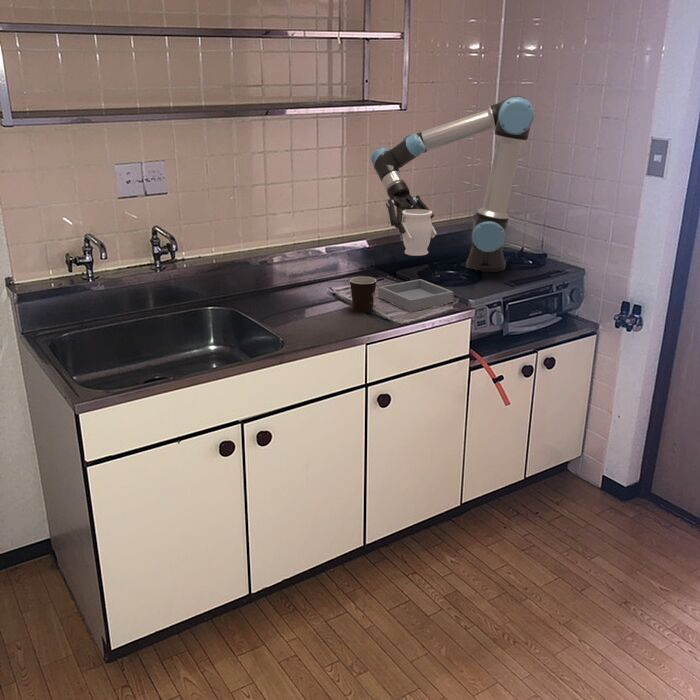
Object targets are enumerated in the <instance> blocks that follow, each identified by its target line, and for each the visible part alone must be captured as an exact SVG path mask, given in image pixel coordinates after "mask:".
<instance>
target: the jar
mask: <svg viewBox="0 0 700 700" xmlns="http://www.w3.org/2000/svg"><path fill="white" fill-rule="evenodd" d="M432 213H433V211H432V210H431V209H429V210H423V209H410V210H406V209H405V210H403V212H402V223H405V225H406V227H407V229H408V231H409V233H410V235H411V237H412V238H411V240H410V241H409V242H406V240H405V238H404V236H403V234H401V235H402V242H403V246H404V247H405V250H404V254H405V255H408V256H411V257H413V256H416V257H418V256H419V257H420V256H426V255H428V254H429V250H428V248H429V246H430V242H431V239H432V238H431V233H432V223H433V221H432V219H431V215H432Z"/></svg>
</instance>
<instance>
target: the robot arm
mask: <svg viewBox="0 0 700 700" xmlns="http://www.w3.org/2000/svg"><path fill="white" fill-rule="evenodd" d="M534 118H535V110H534V107H533V104H532V103H531V102H530V101H529V100H528V99H526V98H525V97H523V96H521V95H513V96H509V97H507V98H505V99H503V100H501V101H499V102H497V103H495V104H492V105H489V106H488V108H487V109H486V110H482V111H479V112H477V113H473V114H470V115H468V116H465V117H462V118H459V119H457V120H453V121H451V122H447V123H444V124H441V125H438V126H435V127H431V128H429V129H426V130H423V131H421V132H418V133H417V132H416V133H413V134H409V135H405V137H404V138H403V139H402V140H401V142H399V143H398V144H396V145H395V146H393V147H392V148H391V149H388V148H387V147H381V148H378V149H376V150H375V151H374V152H372V154H371V156H370V161H371V164H372V166H373V169H374V170H375V171H376V174H377V176H378V178H379V180H380V182H381V183H382V185H383V188H384V189H385V191H386V193H387V196H388V198H389V199H388V200H387V201H386V202H385V206H386V208H387V211H388V217H389V222H390V226H391V227H395V229H398V231H399V233H400V234H401V235H402V234H403V235H402V237H403V236H404V238H405V240H406V242H409V241H410V240H411V238H412V237H411V235H410V233H409V231H408V229H407V227H406V225H405V223H402V221H403V215H402V212H403V211H405V210H410V209H423V210H430V209H429V207H428V206H427V205H426V204H425V203H424V202H423V201H422V198H421V196H420V195H416V196H414V197H413V196H412V195H411V193H410V188H409V186H408V184H407V183H406V182H405V181H406V180H405V179H404V177H403V175H402V174H401V171H400V169H401V168H403V167H404V166H406V165H408V164H409V163H410V162H412V161H413V160H415V159H416V158H418V157H420V156H421V155H422V154H424V153H427V152H430V151H433V150H436V149H439V148H443V147H446V146H448V145H452V144H454V143H458V142H461V141H465V140H466V139H470V138H475V137H477V136H480V135H483V134H486V133H489V132H494V137H495V138H496V139H497V140H496V146H495V150H494V156H493V158H492V163H491V167H490V172H489V176H488V181H487V186H486V190H485V195H484V200H483V202H482V203H483V204H482V206H481V207H480V208H476V209H474V211H473V216H472V217H473V222H472V223H473V224H472V233H471V248H470V251H469V255H468V258H466V263H465V267H466V269H468V268H470V269H475V270H481V271H482V272H481V273H498V272H502V271H504V270H505V269H506V260H505V256H504V251H503V245H504V243H505V240H506V233H507V232H506V230H507V227H508V222H509V218H510V216H509V214H508V213H507V209H508V204H509V201H510V195H511V191H512V188H513V182H514V179H515V174H516V170H517V167H518V166H517V165H518V163H519V157H520V154H521V150H522V146H523V144H524V143H526V142H527V141H528V139H529V135H530V129H531V127H532V124H533V123H534V120H535V119H534ZM395 207H396V209H395ZM434 217H435V214H434V213H433V212H432V215H431V220H432V219H433V218H434ZM437 234H438V233H437V231H436V230H435V225H434V223H433V222H432V233H431V238H430V239H434V238H435V236H436V235H437ZM470 269H469V270H470Z"/></svg>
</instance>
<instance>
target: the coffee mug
mask: <svg viewBox="0 0 700 700" xmlns="http://www.w3.org/2000/svg"><path fill="white" fill-rule="evenodd" d="M349 284H350V294H351V303H352V310H353V311H354V312H355V313H360V314H361V313H362V314H364V313H365V314H366V313H371V312H373V309H374V302H375V295H376V287H377V279H376V278H375V277H372V276H356V277H352V278H350V279H349Z"/></svg>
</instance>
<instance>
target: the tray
mask: <svg viewBox="0 0 700 700" xmlns="http://www.w3.org/2000/svg"><path fill="white" fill-rule="evenodd" d="M378 297H379V298H382V299H384V300H386V301H388V302H390V303H393V304H395V305H397V306H399V307H401V308H400V309H402V308H403V309H402V310H404V309H405V311H406V310H407V312H408V311H409V313H413V312H412V311H414V312H418V311H422V310H421V309H423V310H426V309H425V308H428V309H430V308H429V307H432V308H434V307H433V306H437V307H439V306H438V305H441V304H445V303H449V302H453V303H454V291H452V290H451V289H447V288H445V287H442V286H440V285H437V284H434V283H432V282H429V281H427V280H425V279H422V278H419V279H418V278H417V279H413V280H409V281H403V282H398V283H392V284H387V285H381V286H378ZM379 298H378V299H379ZM384 300H383V301H384ZM386 301H385V302H386ZM388 302H387V303H388ZM390 303H389V304H390ZM393 304H392V305H393ZM395 305H394V306H395ZM397 306H396V307H397ZM399 307H398V308H399ZM417 310H418V311H417Z"/></svg>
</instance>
